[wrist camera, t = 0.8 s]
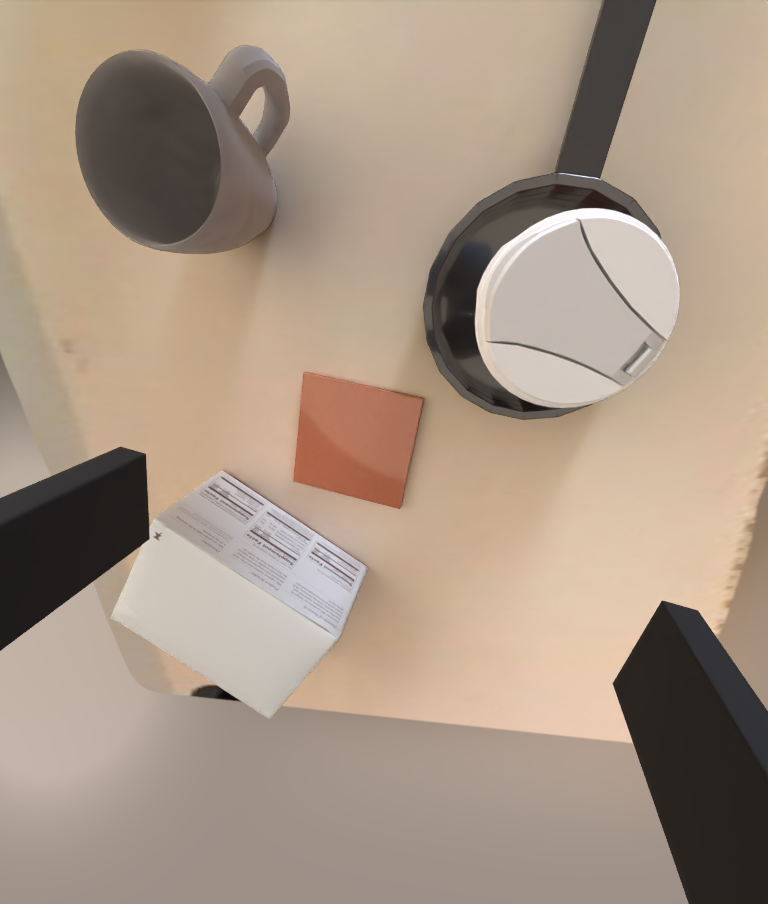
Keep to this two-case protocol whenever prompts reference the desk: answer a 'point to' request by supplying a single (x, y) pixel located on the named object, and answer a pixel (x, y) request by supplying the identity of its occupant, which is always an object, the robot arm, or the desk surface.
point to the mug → (181, 149)
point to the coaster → (355, 439)
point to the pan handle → (604, 85)
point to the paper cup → (576, 307)
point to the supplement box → (239, 592)
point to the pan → (466, 263)
